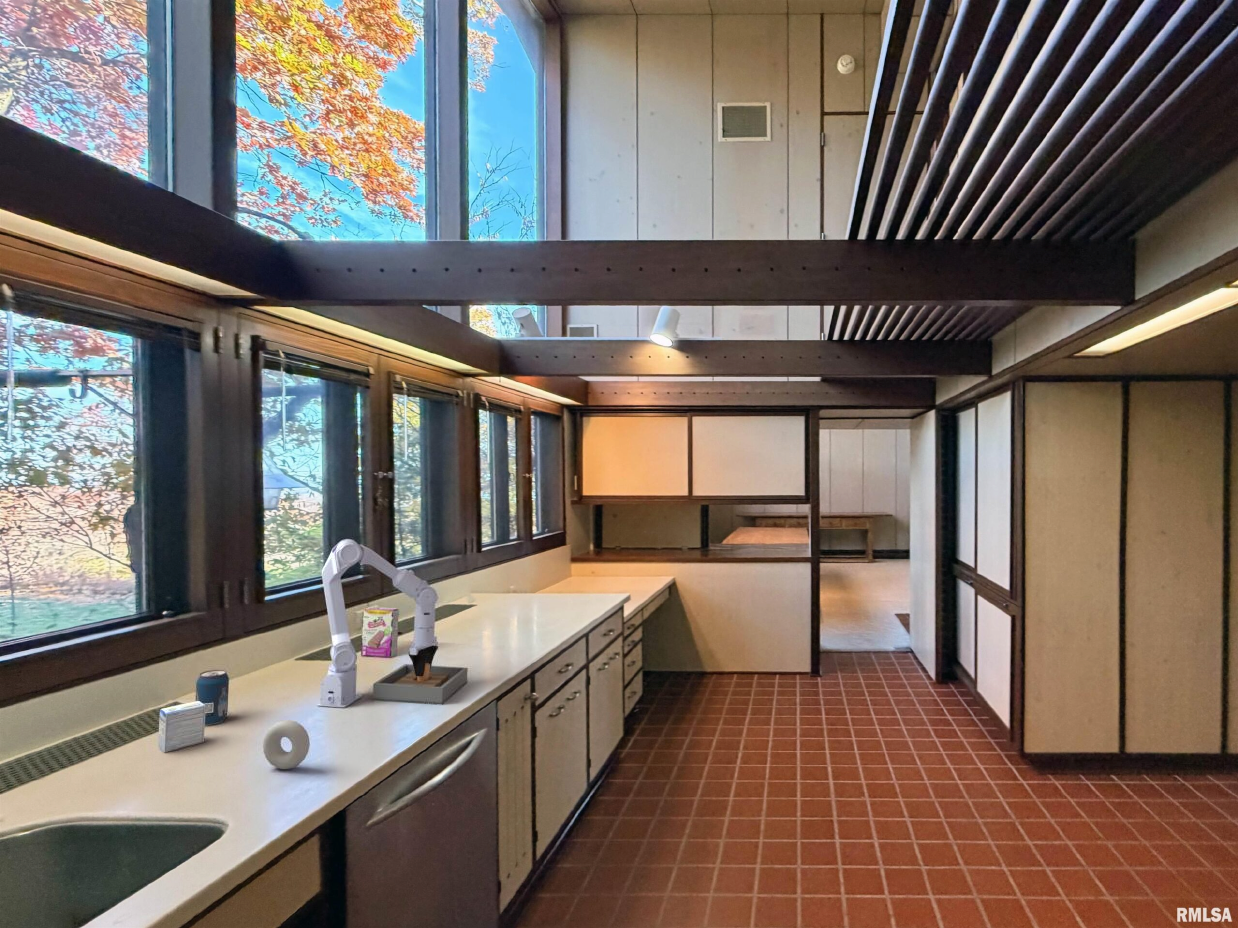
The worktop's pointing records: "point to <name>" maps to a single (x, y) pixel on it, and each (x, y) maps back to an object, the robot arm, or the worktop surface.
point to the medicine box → (181, 726)
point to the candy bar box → (379, 632)
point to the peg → (425, 673)
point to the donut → (275, 750)
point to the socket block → (434, 680)
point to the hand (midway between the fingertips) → (422, 673)
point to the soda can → (213, 695)
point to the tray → (416, 693)
